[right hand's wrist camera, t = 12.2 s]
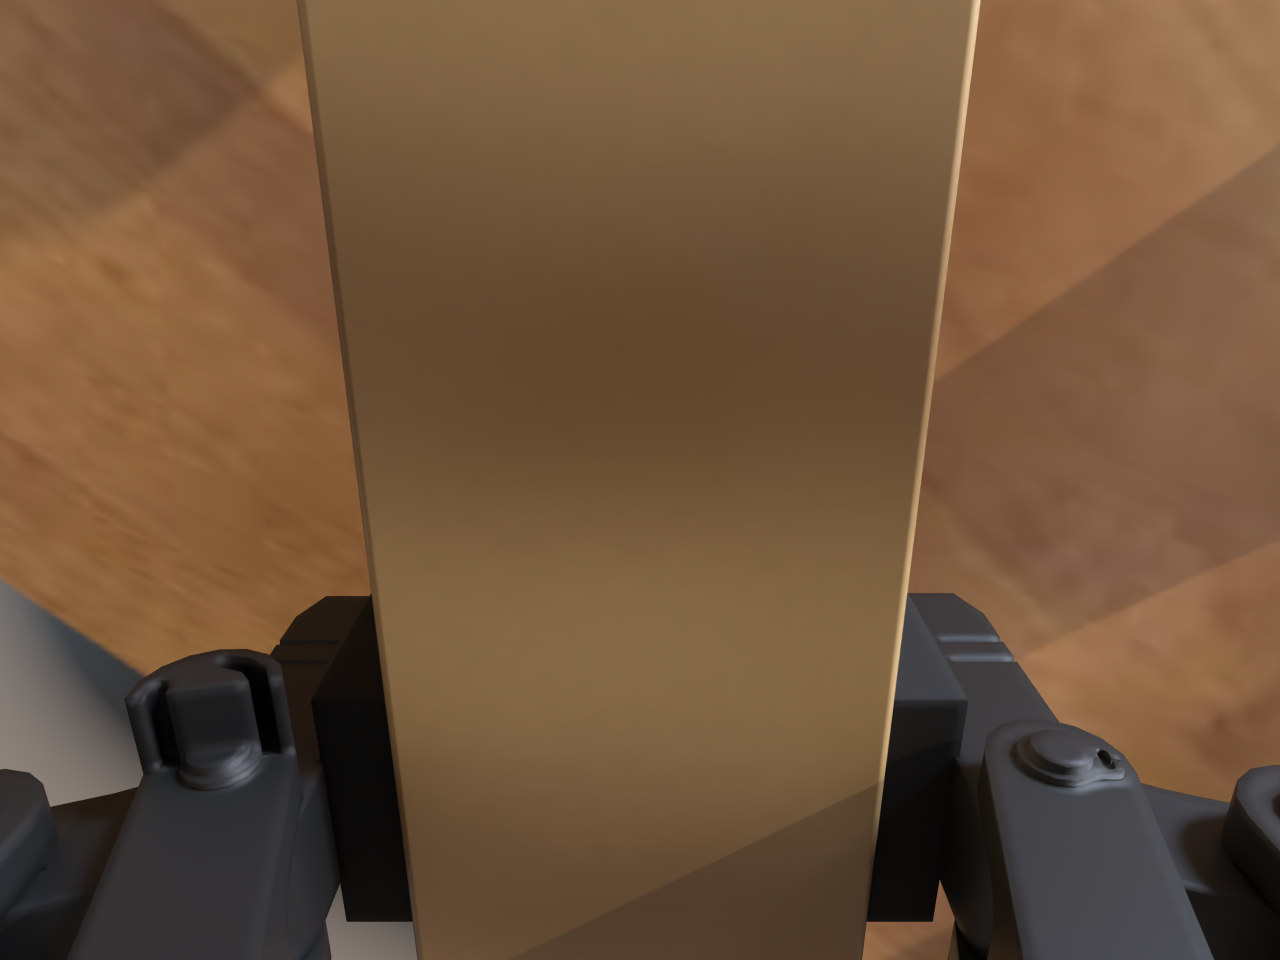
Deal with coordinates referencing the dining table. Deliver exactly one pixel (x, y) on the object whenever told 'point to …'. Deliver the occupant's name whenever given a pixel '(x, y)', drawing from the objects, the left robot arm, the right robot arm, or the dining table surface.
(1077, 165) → the dining table surface
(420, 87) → the post
